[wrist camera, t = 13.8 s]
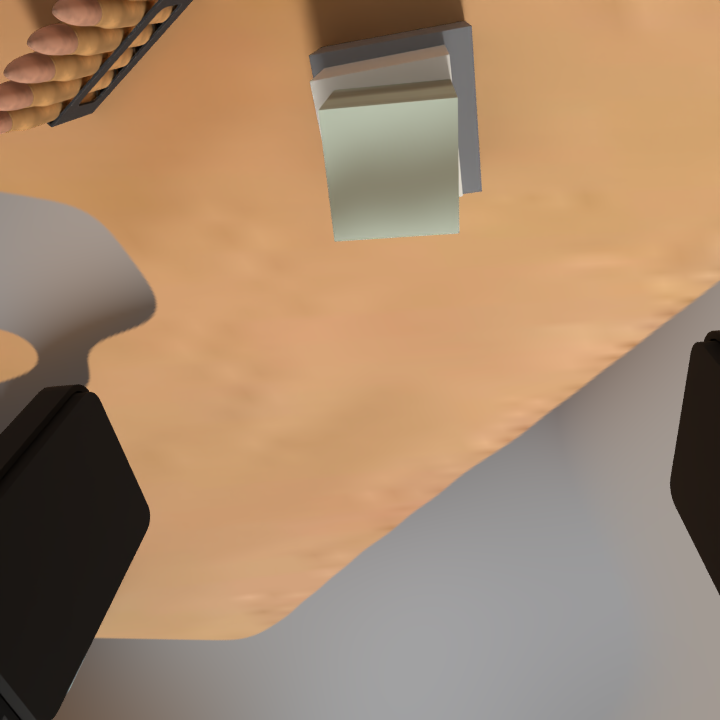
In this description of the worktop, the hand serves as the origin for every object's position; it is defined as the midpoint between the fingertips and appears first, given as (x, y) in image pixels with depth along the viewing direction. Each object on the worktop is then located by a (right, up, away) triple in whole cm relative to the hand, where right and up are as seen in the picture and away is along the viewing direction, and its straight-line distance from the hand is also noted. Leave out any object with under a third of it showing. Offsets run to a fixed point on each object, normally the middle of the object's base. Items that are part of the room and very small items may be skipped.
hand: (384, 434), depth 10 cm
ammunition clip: (-13, +20, +25) cm, 35 cm away
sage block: (+1, +11, +17) cm, 21 cm away
